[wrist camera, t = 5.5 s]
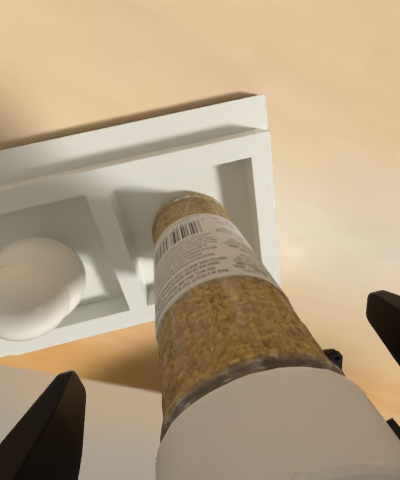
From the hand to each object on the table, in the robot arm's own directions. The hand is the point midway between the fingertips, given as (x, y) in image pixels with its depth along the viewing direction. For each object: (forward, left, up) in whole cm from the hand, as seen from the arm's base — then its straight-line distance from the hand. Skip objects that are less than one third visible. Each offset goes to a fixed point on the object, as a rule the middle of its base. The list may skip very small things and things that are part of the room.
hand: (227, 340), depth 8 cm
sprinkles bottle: (0, 0, -9) cm, 9 cm away
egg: (0, +8, -9) cm, 12 cm away
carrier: (0, +4, -10) cm, 11 cm away
